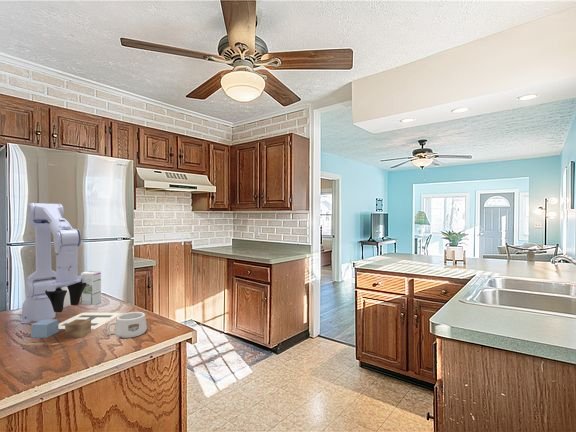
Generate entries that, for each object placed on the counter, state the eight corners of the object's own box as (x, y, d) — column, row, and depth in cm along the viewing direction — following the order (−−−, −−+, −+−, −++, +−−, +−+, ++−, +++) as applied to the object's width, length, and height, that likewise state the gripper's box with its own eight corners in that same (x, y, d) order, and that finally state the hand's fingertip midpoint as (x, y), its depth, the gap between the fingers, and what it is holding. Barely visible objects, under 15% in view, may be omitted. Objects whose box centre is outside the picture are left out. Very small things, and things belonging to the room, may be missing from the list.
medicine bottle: (79, 303, 138) (79, 277, 138) (62, 308, 132) (63, 280, 132) (67, 302, 141) (68, 276, 141) (51, 306, 134) (51, 278, 134)
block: (65, 340, 98) (65, 324, 98) (75, 334, 103) (75, 319, 103) (80, 340, 98) (81, 324, 98) (90, 334, 103) (91, 319, 103)
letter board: (47, 331, 105) (47, 328, 105) (82, 314, 123) (82, 312, 123) (94, 331, 105) (94, 329, 105) (122, 314, 123) (122, 312, 123)
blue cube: (30, 340, 98) (31, 324, 98) (43, 334, 103) (43, 319, 103) (46, 340, 98) (47, 324, 98) (58, 334, 103) (58, 319, 103)
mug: (142, 326, 111) (142, 309, 111) (149, 334, 103) (150, 316, 103) (104, 333, 104) (104, 315, 104) (108, 343, 96) (108, 323, 96)
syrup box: (101, 302, 141) (101, 270, 141) (92, 306, 135) (92, 272, 135) (90, 302, 141) (90, 270, 141) (80, 305, 136) (80, 272, 136)
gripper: (63, 270, 93) (63, 315, 93) (93, 263, 108) (93, 302, 108) (40, 270, 93) (39, 315, 93) (72, 263, 108) (72, 302, 108)
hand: (66, 308), depth 100 cm, fingers open, 7 cm apart
